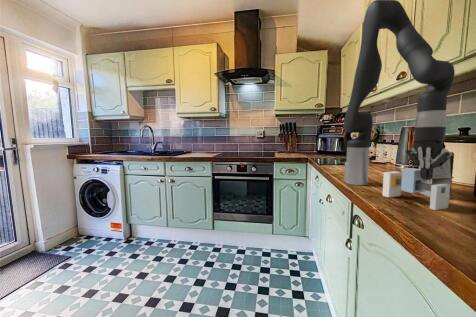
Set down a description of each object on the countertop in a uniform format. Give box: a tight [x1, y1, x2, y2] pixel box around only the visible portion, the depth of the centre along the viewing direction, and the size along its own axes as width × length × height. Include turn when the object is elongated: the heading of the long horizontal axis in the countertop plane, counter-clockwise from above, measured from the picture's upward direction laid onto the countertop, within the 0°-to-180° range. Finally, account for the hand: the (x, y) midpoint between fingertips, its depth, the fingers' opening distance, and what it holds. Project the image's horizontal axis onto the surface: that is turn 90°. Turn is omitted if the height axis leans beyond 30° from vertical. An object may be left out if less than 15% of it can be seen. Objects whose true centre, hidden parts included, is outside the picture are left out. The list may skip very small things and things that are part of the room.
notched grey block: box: [401, 167, 423, 194], centre depth 77 cm, size 4×5×8 cm
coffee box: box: [418, 153, 455, 200], centre depth 84 cm, size 9×6×16 cm
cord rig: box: [382, 170, 450, 211], centre depth 77 cm, size 18×6×9 cm, turn 18°
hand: (426, 179), depth 73 cm, fingers closed
